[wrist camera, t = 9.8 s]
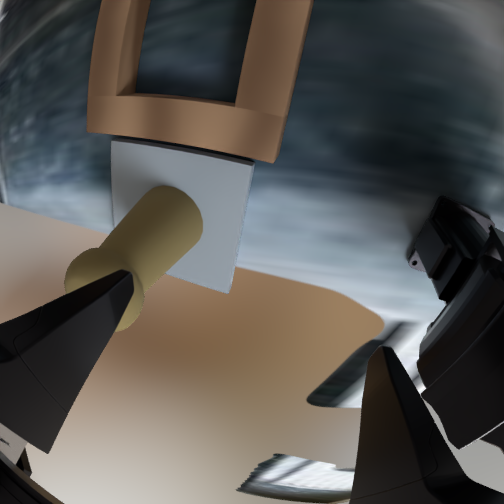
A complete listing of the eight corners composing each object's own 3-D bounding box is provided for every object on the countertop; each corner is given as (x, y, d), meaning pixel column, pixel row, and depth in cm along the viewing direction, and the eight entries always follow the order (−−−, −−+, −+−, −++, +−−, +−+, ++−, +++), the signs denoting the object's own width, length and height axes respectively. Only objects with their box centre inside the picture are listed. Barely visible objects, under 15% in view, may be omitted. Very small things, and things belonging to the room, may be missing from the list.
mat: (255, 162, 19) (252, 166, 18) (231, 287, 26) (228, 293, 25) (118, 137, 20) (111, 140, 19) (122, 251, 27) (117, 257, 26)
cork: (128, 211, 23) (42, 289, 14) (168, 170, 20) (65, 246, 11) (172, 261, 25) (106, 354, 16) (218, 229, 22) (150, 335, 13)
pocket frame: (321, -34, 10) (321, -48, 8) (278, 154, 19) (273, 163, 17) (130, -30, 11) (112, -37, 9) (105, 125, 20) (86, 132, 18)
